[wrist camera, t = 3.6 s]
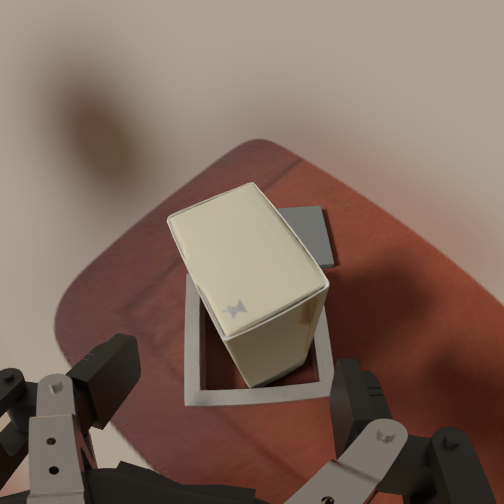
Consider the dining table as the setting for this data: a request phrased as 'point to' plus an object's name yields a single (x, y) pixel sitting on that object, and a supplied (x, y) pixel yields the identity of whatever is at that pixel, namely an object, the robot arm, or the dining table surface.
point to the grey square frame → (257, 396)
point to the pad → (310, 232)
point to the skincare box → (252, 280)
